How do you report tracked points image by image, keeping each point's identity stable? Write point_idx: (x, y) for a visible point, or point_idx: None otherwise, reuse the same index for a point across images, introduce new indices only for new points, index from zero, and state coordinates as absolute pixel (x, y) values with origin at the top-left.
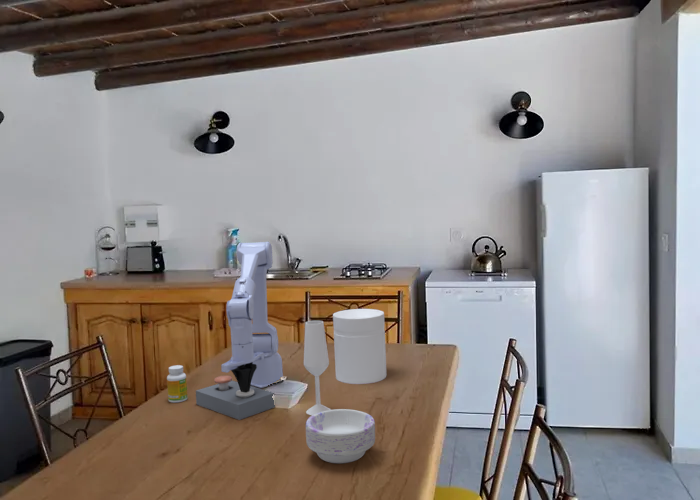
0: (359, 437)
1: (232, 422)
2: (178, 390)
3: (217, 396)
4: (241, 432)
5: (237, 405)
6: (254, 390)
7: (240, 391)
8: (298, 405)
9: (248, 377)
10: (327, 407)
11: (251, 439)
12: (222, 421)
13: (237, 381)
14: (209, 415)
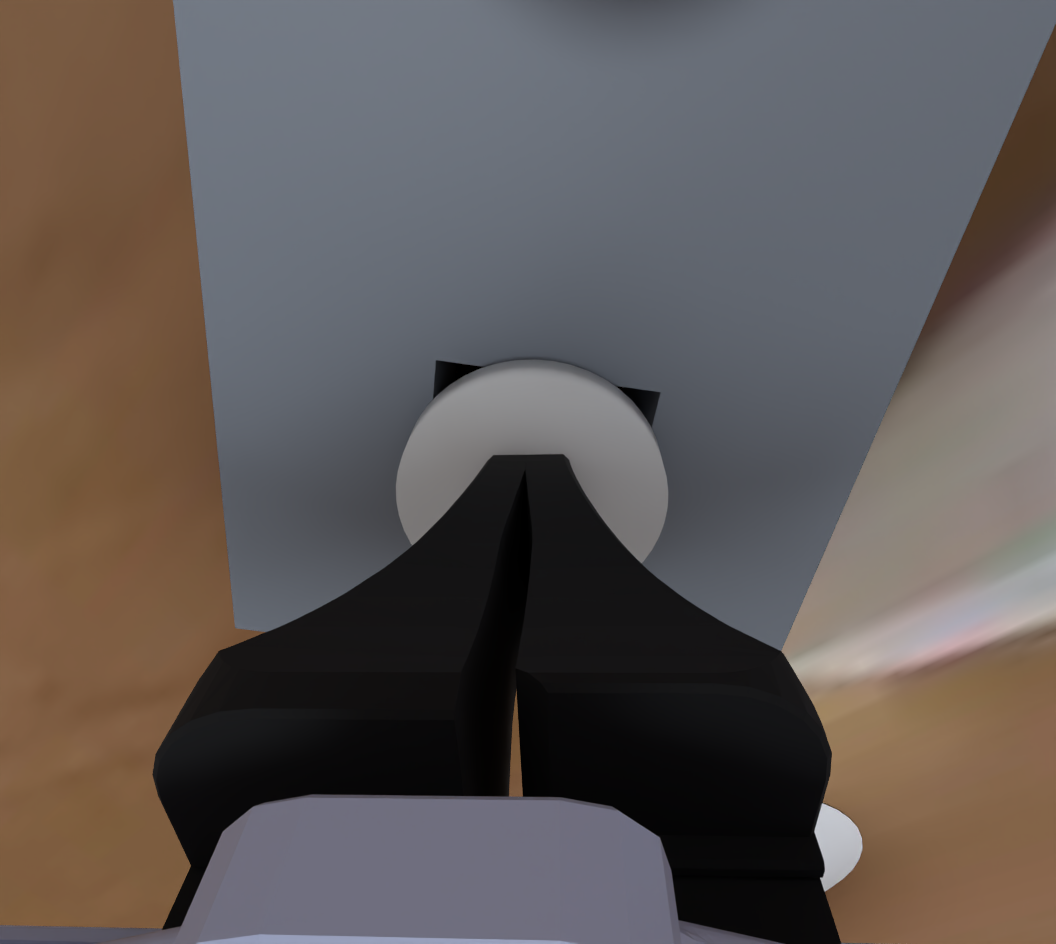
0: None
1: (217, 511)
2: None
3: (233, 113)
4: (152, 690)
5: (236, 608)
6: (759, 448)
7: (488, 451)
8: (840, 706)
9: (506, 775)
10: (830, 887)
11: (139, 793)
12: (160, 415)
13: (427, 532)
14: (143, 128)
